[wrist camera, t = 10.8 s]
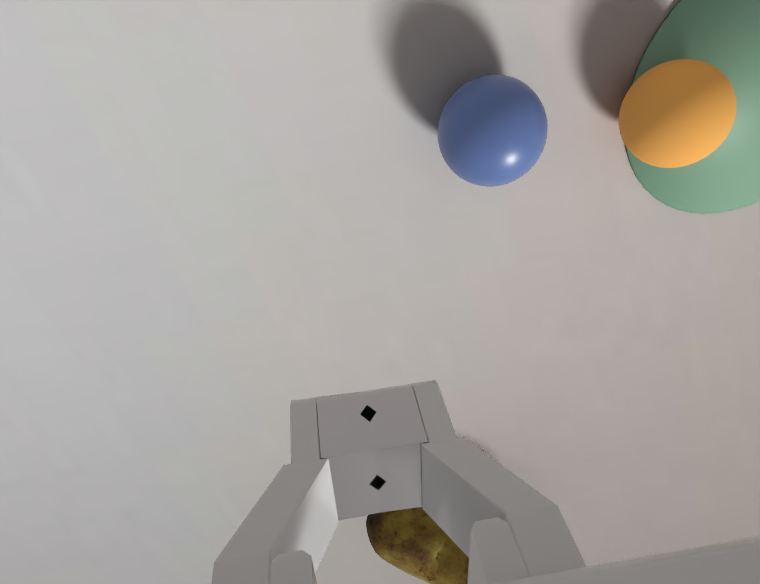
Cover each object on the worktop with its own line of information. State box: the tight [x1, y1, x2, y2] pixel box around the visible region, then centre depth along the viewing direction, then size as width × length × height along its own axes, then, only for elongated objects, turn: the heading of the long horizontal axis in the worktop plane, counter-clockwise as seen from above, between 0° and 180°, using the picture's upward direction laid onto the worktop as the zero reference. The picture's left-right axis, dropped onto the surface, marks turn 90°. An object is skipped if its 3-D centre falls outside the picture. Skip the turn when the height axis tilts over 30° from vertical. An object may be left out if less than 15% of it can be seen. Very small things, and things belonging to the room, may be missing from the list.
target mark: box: [626, 0, 760, 214], centre depth 29 cm, size 14×14×1 cm
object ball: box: [619, 59, 736, 168], centre depth 27 cm, size 5×5×5 cm
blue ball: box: [438, 75, 547, 186], centre depth 26 cm, size 5×5×5 cm
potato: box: [366, 507, 469, 584], centre depth 41 cm, size 8×13×8 cm, turn 58°
